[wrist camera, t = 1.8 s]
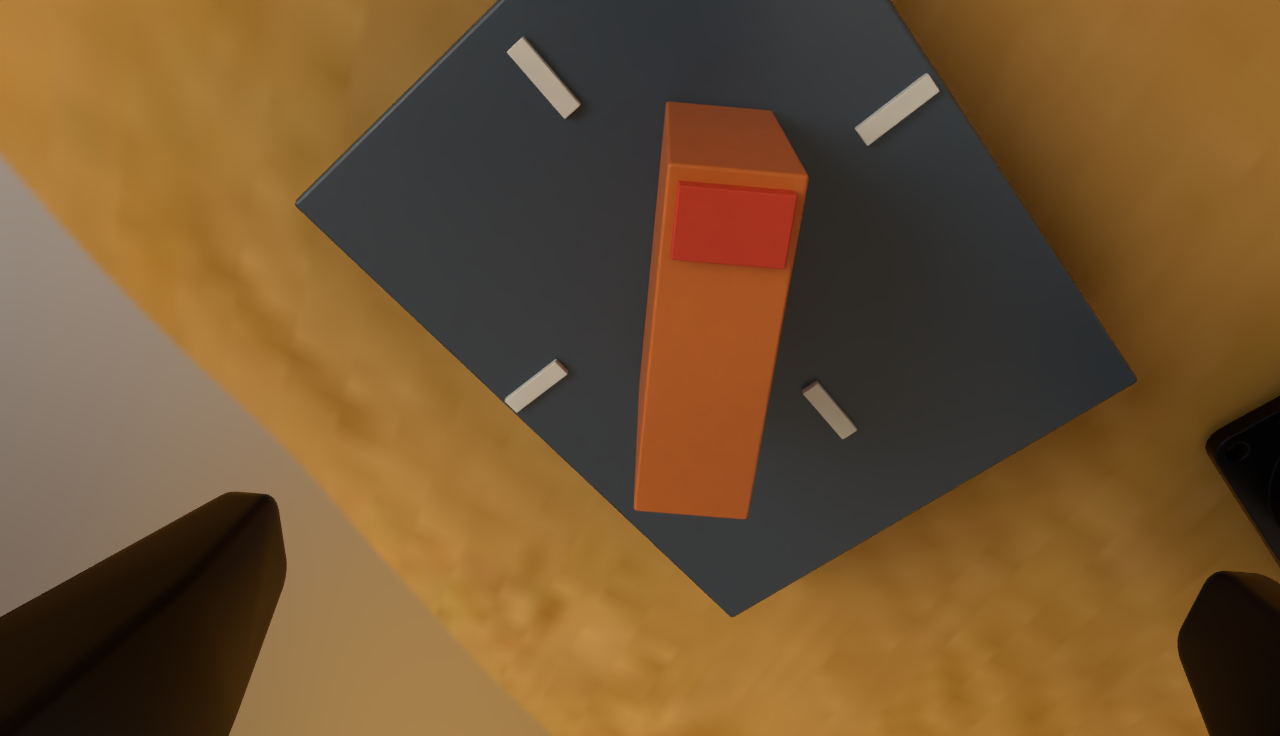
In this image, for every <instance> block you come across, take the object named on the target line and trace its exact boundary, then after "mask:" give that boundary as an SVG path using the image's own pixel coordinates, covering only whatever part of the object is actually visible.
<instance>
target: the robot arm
mask: <svg viewBox="0 0 1280 736" xmlns="http://www.w3.org/2000/svg"><path fill="white" fill-rule="evenodd" d="M1237 443H1238V444H1237ZM1234 444H1237V446H1236V447H1234V448H1233V449H1232V450H1229V451H1227V450H1228V448H1230V447H1231V446H1232V445H1234ZM1205 449H1206V452H1207V454H1208V456H1209V458H1210V459H1211V461H1212V462H1213V464H1214V465H1215V467H1216V469H1217V470H1218V472H1219V473H1220V475H1221V476H1222V478H1223V479H1224V481H1225V483H1226V484H1227V486H1228V487H1229V489H1230V490H1231V492H1232V494H1233V495H1234V497H1235V498H1236V500H1237V501H1238V503H1239V504H1240V506H1241V508H1242V509H1243V511H1244V512H1245V514H1246V515H1247V517H1248V519H1249V520H1250V522H1251V523H1252V525H1253V526H1254V528H1255V529H1256V531H1257V533H1258V534H1259V536H1260V537H1261V539H1262V540H1263V542H1264V544H1265V545H1266V547H1267V548H1268V550H1269V551H1270V553H1271V554H1272V556H1273V558H1274V559H1275V561H1276V562H1277V564H1278V565H1279V567H1280V396H1279V397H1277V398H1275V399H1273V400H1271V401H1270V402H1268V403H1266V404H1264V405H1262V406H1260V407H1259V408H1257V409H1255V410H1253V411H1251V412H1249V413H1248V414H1246V415H1244V416H1242V417H1240V418H1239V419H1237V420H1235V421H1233V422H1231V423H1229V424H1228V425H1226V426H1224V427H1222V428H1220V429H1219V430H1217V431H1216V432H1214V433H1213V434H1212V435H1211V436H1210V438H1209V439H1208V440H1207V443H1206V447H1205ZM286 568H287V563H286V554H285V548H284V542H283V535H282V528H281V522H280V515H279V509H278V505H277V503H276V501H275V499H274V498H273V497H271V496H269V495H267V494H259V493H246V492H228V493H225V494H223V495H221V496H219V497H217V498H215V499H213V500H212V501H210V502H208V503H206V504H204V505H203V506H201V507H199V508H197V509H195V510H193V511H192V512H190V513H188V514H186V515H184V516H183V517H181V518H179V519H177V520H175V521H174V522H172V523H170V524H168V525H166V526H165V527H163V528H161V529H159V530H157V531H155V532H154V533H152V534H150V535H148V536H146V537H145V538H143V539H141V540H139V541H137V542H136V543H134V544H132V545H130V546H128V547H126V548H125V549H123V550H121V551H119V552H117V553H116V554H114V555H112V556H110V557H108V558H107V559H105V560H103V561H101V562H99V563H98V564H96V565H94V566H92V567H90V568H89V569H87V570H85V571H83V572H81V573H79V574H78V575H76V576H74V577H72V578H70V579H69V580H67V581H65V582H63V583H61V584H60V585H58V586H56V587H54V588H52V589H50V590H49V591H47V592H45V593H43V594H41V595H40V596H38V597H36V598H34V599H32V600H30V601H29V602H27V603H25V604H23V605H21V606H20V607H18V608H16V609H14V610H12V611H11V612H9V613H7V614H5V615H3V616H2V617H0V736H229V733H230V731H231V728H232V726H233V723H234V720H235V718H236V715H237V713H238V710H239V708H240V705H241V702H242V699H243V697H244V694H245V691H246V688H247V686H248V683H249V680H250V677H251V675H252V672H253V669H254V666H255V663H256V661H257V658H258V655H259V652H260V649H261V647H262V644H263V641H264V639H265V636H266V633H267V630H268V627H269V625H270V622H271V619H272V617H273V614H274V611H275V608H276V605H277V603H278V600H279V597H280V594H281V592H282V589H283V586H284V581H285V577H286ZM1178 652H1179V657H1180V660H1181V663H1182V665H1183V668H1184V671H1185V673H1186V676H1187V678H1188V681H1189V684H1190V686H1191V689H1192V691H1193V694H1194V697H1195V699H1196V702H1197V704H1198V707H1199V709H1200V712H1201V715H1202V717H1203V720H1204V722H1205V725H1206V728H1207V730H1208V733H1209V735H1210V736H1280V584H1279V583H1278V582H1276V581H1274V580H1272V579H1271V578H1268V577H1266V576H1264V575H1260V574H1255V573H1244V572H1232V571H1220V572H1216V573H1214V574H1213V575H1211V576H1210V577H1209V578H1208V579H1207V580H1206V582H1205V583H1204V585H1203V587H1202V589H1201V591H1200V593H1199V594H1198V596H1197V598H1196V600H1195V602H1194V604H1193V606H1192V608H1191V610H1190V611H1189V613H1188V615H1187V617H1186V619H1185V621H1184V623H1183V625H1182V627H1181V629H1180V631H1179V635H1178Z"/></svg>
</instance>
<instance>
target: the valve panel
mask: <svg viewBox="0 0 1280 736" xmlns="http://www.w3.org/2000/svg"><path fill="white" fill-rule="evenodd" d="M669 101H670V102H681V103H693V104H704V105H715V106H726V107H737V108H748V109H760V110H770V111H772V112H773V114H774V115H775V117H776V119H777V121H778V123H779V124H780V126H781V128H782V130H783V131H784V133H785V135H786V137H787V139H788V140H789V142H790V144H791V146H792V148H793V149H794V151H795V153H796V155H797V157H798V158H799V160H800V162H801V164H802V165H803V167H804V169H805V171H806V173H807V174H808V177H809V180H808V186H807V191H806V197H805V202H804V208H803V213H802V219H801V224H800V230H799V236H798V241H797V247H796V252H795V258H794V263H793V269H792V274H791V280H790V286H789V291H788V297H787V302H786V308H785V313H784V319H783V324H782V330H781V335H780V341H779V347H778V352H777V358H776V363H775V369H774V374H773V380H772V385H771V391H770V396H769V402H768V408H767V413H766V419H765V424H764V430H763V435H762V441H761V446H760V452H759V457H758V463H757V469H756V474H755V480H754V485H753V491H752V496H751V502H750V507H749V513H748V517H747V519H732V518H719V517H707V516H694V515H682V514H669V513H657V512H644V511H636V510H635V509H634V487H635V466H636V445H637V423H638V402H639V383H640V372H641V362H642V351H643V340H644V330H645V319H646V309H647V298H648V287H649V277H650V266H651V256H652V245H653V234H654V224H655V213H656V202H657V192H658V181H659V171H660V160H661V149H662V139H663V128H664V118H665V107H666V103H667V102H669ZM295 205H296V207H297V208H298V209H299V210H300V211H301V212H302V213H304V214H305V215H306V216H307V217H308V218H309V219H310V220H311V221H312V222H313V223H314V224H315V225H316V226H317V227H318V228H319V229H320V230H322V231H323V232H324V233H325V234H326V235H327V236H328V237H329V238H330V239H331V240H332V241H333V242H334V243H335V244H336V245H337V246H338V247H340V248H341V249H342V250H343V251H344V252H345V253H346V254H347V255H348V256H349V257H350V258H351V259H352V260H353V261H354V262H355V263H356V264H358V265H359V266H360V267H361V268H362V269H363V270H364V271H365V272H366V273H367V274H368V275H369V276H370V277H371V278H372V279H373V280H374V281H376V282H377V283H378V284H379V285H380V286H381V287H382V288H383V289H384V290H385V291H386V292H387V293H388V294H389V295H390V296H391V297H392V298H394V299H395V300H396V301H397V302H398V303H399V304H400V305H401V306H402V307H403V308H404V309H405V310H406V311H407V312H408V313H409V314H410V315H412V316H413V317H414V318H415V319H416V320H417V321H418V322H419V323H420V324H421V325H422V326H423V327H424V328H425V329H426V330H427V331H428V332H430V333H431V334H432V335H433V336H434V337H435V338H436V339H437V340H438V341H439V342H440V343H441V344H442V345H443V346H444V347H445V348H446V349H448V350H449V351H450V352H451V353H452V354H453V355H454V356H455V357H456V358H457V359H458V360H459V361H460V362H461V363H462V364H463V365H464V366H466V367H467V368H468V369H469V370H470V371H471V372H472V373H473V374H474V375H475V376H476V377H477V378H478V379H479V380H480V381H481V382H482V383H484V384H485V385H486V386H487V387H488V388H489V389H490V390H491V391H492V392H493V393H494V394H495V395H496V396H497V397H498V398H499V399H500V400H502V401H503V402H504V403H505V404H506V405H507V406H508V407H509V408H510V409H511V410H512V411H513V412H514V413H515V414H516V415H517V416H518V417H520V418H521V419H522V420H523V421H524V422H525V423H526V424H527V425H528V426H529V427H530V428H531V429H532V430H533V431H534V432H535V433H536V434H538V435H539V436H540V437H541V438H542V439H543V440H544V441H545V442H546V443H547V444H548V445H549V446H550V447H551V448H552V449H553V450H554V451H556V452H557V453H558V454H559V455H560V456H561V457H562V458H563V459H564V460H565V461H566V462H567V463H568V464H569V465H570V466H571V467H572V468H574V469H575V470H576V471H577V472H578V473H579V474H580V475H581V476H582V477H583V478H584V479H585V480H586V481H587V482H588V483H589V484H590V485H592V486H593V487H594V488H595V489H596V490H597V491H598V492H599V493H600V494H601V495H602V496H603V497H604V498H605V499H606V500H607V501H608V502H610V503H611V504H612V505H613V506H614V507H615V508H616V509H617V510H618V511H619V512H620V513H621V514H622V515H623V516H624V517H625V518H626V519H628V520H629V521H630V522H631V523H632V524H633V525H634V526H635V527H636V528H637V529H638V530H639V531H640V532H641V533H642V534H643V535H644V536H646V537H647V538H648V539H649V540H650V541H651V542H652V543H653V544H654V545H655V546H656V547H657V548H658V549H659V550H660V551H661V552H662V553H664V554H665V555H666V556H667V557H668V558H669V559H670V560H671V561H672V562H673V563H674V564H675V565H676V566H677V567H678V568H679V569H680V570H682V571H683V572H684V573H685V574H686V575H687V576H688V577H689V578H690V579H691V580H692V581H693V582H694V583H695V584H696V585H697V586H698V587H700V588H701V589H702V590H703V591H704V592H705V593H706V594H707V595H708V596H709V597H710V598H711V599H712V600H713V601H714V602H715V603H716V604H718V605H719V606H720V607H721V608H722V609H723V610H724V611H725V612H726V613H727V614H728V615H729V616H730V617H735V616H736V615H738V614H740V613H741V612H743V611H745V610H747V609H748V608H750V607H752V606H753V605H755V604H757V603H759V602H760V601H762V600H764V599H765V598H767V597H769V596H771V595H772V594H774V593H776V592H777V591H779V590H781V589H783V588H784V587H786V586H788V585H789V584H791V583H793V582H795V581H796V580H798V579H800V578H801V577H803V576H805V575H807V574H808V573H810V572H812V571H813V570H815V569H817V568H819V567H820V566H822V565H824V564H825V563H827V562H829V561H831V560H832V559H834V558H836V557H837V556H839V555H841V554H843V553H844V552H846V551H848V550H849V549H851V548H853V547H855V546H856V545H858V544H860V543H861V542H863V541H865V540H867V539H868V538H870V537H872V536H873V535H875V534H877V533H879V532H880V531H882V530H884V529H885V528H887V527H889V526H891V525H892V524H894V523H896V522H897V521H899V520H901V519H903V518H904V517H906V516H908V515H909V514H911V513H913V512H915V511H916V510H918V509H920V508H921V507H923V506H925V505H927V504H928V503H930V502H932V501H933V500H935V499H937V498H939V497H940V496H942V495H944V494H945V493H947V492H949V491H951V490H952V489H954V488H956V487H957V486H959V485H961V484H963V483H964V482H966V481H968V480H969V479H971V478H973V477H975V476H976V475H978V474H980V473H981V472H983V471H985V470H987V469H988V468H990V467H992V466H993V465H995V464H997V463H999V462H1000V461H1002V460H1004V459H1005V458H1007V457H1009V456H1011V455H1012V454H1014V453H1016V452H1017V451H1019V450H1021V449H1023V448H1024V447H1026V446H1028V445H1029V444H1031V443H1033V442H1034V441H1036V440H1038V439H1040V438H1041V437H1043V436H1045V435H1046V434H1048V433H1050V432H1052V431H1053V430H1055V429H1057V428H1058V427H1060V426H1062V425H1064V424H1065V423H1067V422H1069V421H1070V420H1072V419H1074V418H1076V417H1077V416H1079V415H1081V414H1082V413H1084V412H1086V411H1088V410H1089V409H1091V408H1093V407H1094V406H1096V405H1098V404H1100V403H1101V402H1103V401H1105V400H1106V399H1108V398H1110V397H1112V396H1113V395H1115V394H1117V393H1118V392H1120V391H1122V390H1124V389H1125V388H1127V387H1129V386H1130V385H1132V384H1134V383H1135V382H1136V381H1137V380H1136V376H1135V374H1134V373H1133V371H1132V370H1131V368H1130V367H1129V365H1128V364H1127V362H1126V361H1125V359H1124V358H1123V356H1122V354H1121V353H1120V351H1119V350H1118V348H1117V347H1116V345H1115V344H1114V342H1113V341H1112V339H1111V338H1110V336H1109V335H1108V333H1107V331H1106V330H1105V328H1104V327H1103V325H1102V324H1101V322H1100V321H1099V319H1098V318H1097V316H1096V315H1095V313H1094V312H1093V310H1092V309H1091V307H1090V305H1089V304H1088V302H1087V301H1086V299H1085V298H1084V296H1083V295H1082V293H1081V292H1080V290H1079V289H1078V287H1077V286H1076V284H1075V283H1074V281H1073V279H1072V278H1071V276H1070V275H1069V273H1068V272H1067V270H1066V269H1065V267H1064V266H1063V264H1062V263H1061V261H1060V260H1059V258H1058V257H1057V255H1056V253H1055V252H1054V250H1053V249H1052V247H1051V246H1050V244H1049V243H1048V241H1047V240H1046V238H1045V237H1044V235H1043V234H1042V232H1041V230H1040V229H1039V227H1038V226H1037V224H1036V223H1035V221H1034V220H1033V218H1032V217H1031V215H1030V214H1029V212H1028V211H1027V209H1026V208H1025V206H1024V204H1023V203H1022V201H1021V200H1020V198H1019V197H1018V195H1017V194H1016V192H1015V191H1014V189H1013V188H1012V186H1011V185H1010V183H1009V182H1008V180H1007V178H1006V177H1005V175H1004V174H1003V172H1002V171H1001V169H1000V168H999V166H998V165H997V163H996V162H995V160H994V159H993V157H992V156H991V154H990V152H989V151H988V149H987V148H986V146H985V145H984V143H983V142H982V140H981V139H980V137H979V136H978V134H977V133H976V131H975V129H974V128H973V126H972V125H971V123H970V122H969V120H968V119H967V117H966V116H965V114H964V113H963V111H962V110H961V108H960V107H959V105H958V103H957V102H956V100H955V99H954V97H953V96H952V94H951V93H950V91H949V90H948V88H947V87H946V85H945V84H944V82H943V81H942V79H941V77H940V76H939V74H938V73H937V71H936V70H935V68H934V67H933V65H932V64H931V62H930V61H929V59H928V58H927V56H926V55H925V53H924V51H923V50H922V48H921V47H920V45H919V44H918V42H917V41H916V39H915V38H914V36H913V35H912V33H911V32H910V30H909V28H908V27H907V25H906V24H905V22H904V21H903V19H902V18H901V16H900V15H899V13H898V12H897V10H896V9H895V7H894V6H893V4H892V2H891V1H890V0H498V1H497V2H496V3H495V4H494V5H493V6H492V7H491V8H490V9H489V10H488V11H487V12H486V13H485V14H484V15H483V16H482V17H481V18H480V19H479V20H478V21H477V22H476V23H475V24H474V25H473V26H472V27H471V28H470V29H469V30H467V31H466V32H465V33H464V34H463V35H462V36H461V37H460V38H459V39H458V40H457V41H456V42H455V43H454V44H453V45H452V46H451V47H450V48H449V49H448V50H447V51H446V52H445V53H444V54H443V55H442V56H441V57H440V58H439V59H438V60H437V61H436V62H435V63H434V64H433V65H432V66H431V67H430V68H429V69H428V70H427V71H426V72H425V73H424V74H423V75H422V76H421V77H420V78H419V79H418V80H417V81H416V82H415V83H414V84H413V85H412V86H411V87H410V88H409V89H408V90H407V91H406V92H405V93H404V94H403V95H402V96H401V97H400V98H399V99H398V100H397V101H396V102H395V103H394V104H393V105H392V106H391V107H390V108H389V109H388V110H387V111H386V112H385V113H384V114H383V115H382V116H381V117H380V118H379V119H378V120H377V121H376V122H375V123H374V124H373V125H372V126H371V127H370V128H369V129H368V130H367V131H365V132H364V133H363V134H362V135H361V136H360V137H359V138H358V139H357V140H356V141H355V142H354V143H353V144H352V145H351V146H350V147H349V148H348V149H347V150H346V151H345V152H344V153H343V154H342V155H341V156H340V157H339V158H338V159H337V160H336V161H335V162H334V163H333V164H332V165H331V166H330V167H329V168H328V169H327V170H326V171H325V172H324V173H323V174H322V175H321V176H320V177H319V178H318V179H317V180H316V181H315V182H314V183H313V184H312V185H311V186H310V187H309V188H308V189H307V190H306V191H305V192H304V193H303V194H302V195H301V196H300V197H299V198H298V199H297V200H296V203H295Z"/></svg>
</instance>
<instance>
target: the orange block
mask: <svg viewBox="0 0 1280 736" xmlns="http://www.w3.org/2000/svg"><path fill="white" fill-rule="evenodd" d="M808 180H809V177H808V174H807V173H806V171H805V169H804V167H803V165H802V164H801V162H800V160H799V158H798V157H797V155H796V153H795V151H794V149H793V148H792V146H791V144H790V142H789V140H788V139H787V137H786V135H785V133H784V131H783V130H782V128H781V126H780V124H779V123H778V121H777V119H776V117H775V115H774V114H773V112H772V111H770V110H760V109H748V108H737V107H726V106H715V105H704V104H693V103H681V102H670V101H669V102H667V103H666V107H665V118H664V128H663V139H662V149H661V160H660V171H659V181H658V192H657V202H656V213H655V224H654V234H653V245H652V256H651V266H650V277H649V287H648V298H647V309H646V319H645V330H644V340H643V351H642V362H641V372H640V383H639V402H638V423H637V445H636V466H635V487H634V509H635V510H636V511H644V512H657V513H669V514H682V515H694V516H707V517H719V518H732V519H747V517H748V513H749V507H750V502H751V496H752V491H753V485H754V480H755V474H756V469H757V463H758V457H759V452H760V446H761V441H762V435H763V430H764V424H765V419H766V413H767V408H768V402H769V396H770V391H771V385H772V380H773V374H774V369H775V363H776V358H777V352H778V347H779V341H780V335H781V330H782V324H783V319H784V313H785V308H786V302H787V297H788V291H789V286H790V280H791V274H792V269H793V263H794V258H795V252H796V247H797V241H798V236H799V230H800V224H801V219H802V213H803V208H804V202H805V197H806V191H807V186H808Z"/></svg>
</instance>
